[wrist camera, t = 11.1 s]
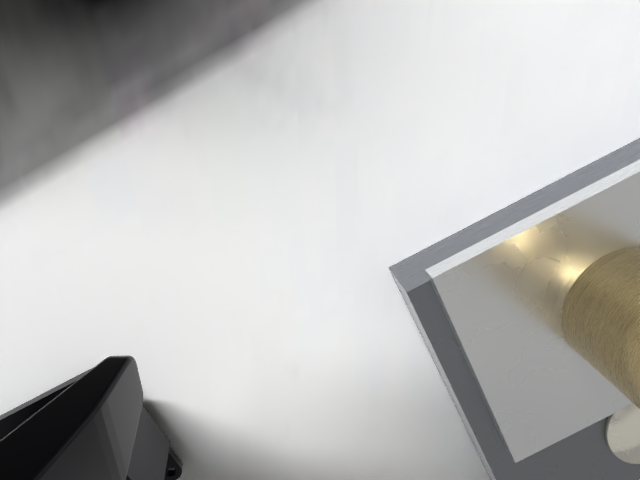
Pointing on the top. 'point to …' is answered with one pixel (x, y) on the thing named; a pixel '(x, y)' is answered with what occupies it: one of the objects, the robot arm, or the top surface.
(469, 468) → the top surface
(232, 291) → the top surface
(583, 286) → the weight
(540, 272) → the scale
